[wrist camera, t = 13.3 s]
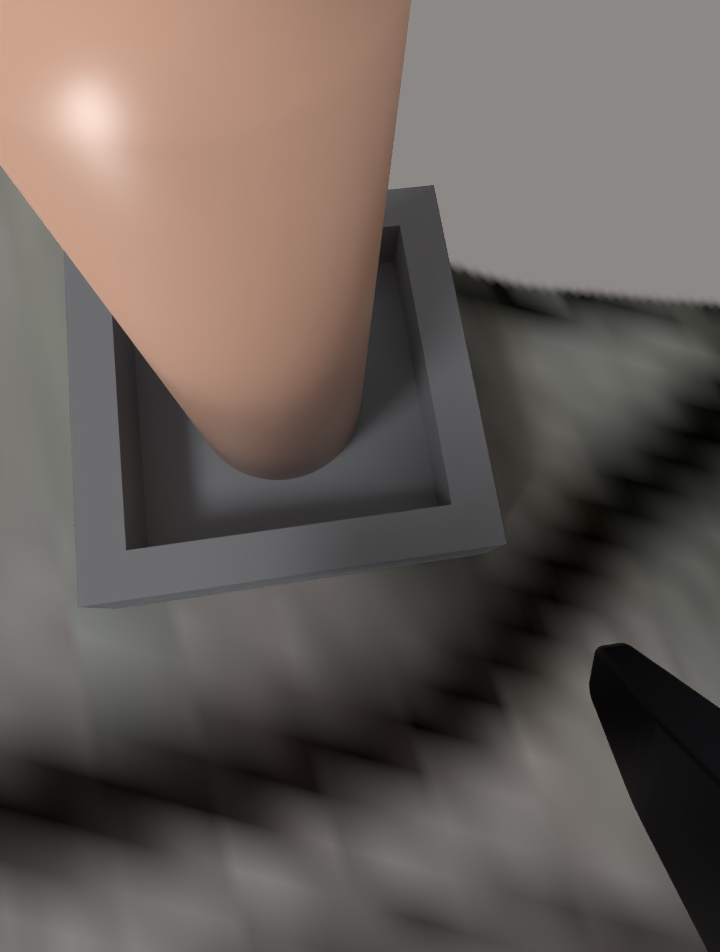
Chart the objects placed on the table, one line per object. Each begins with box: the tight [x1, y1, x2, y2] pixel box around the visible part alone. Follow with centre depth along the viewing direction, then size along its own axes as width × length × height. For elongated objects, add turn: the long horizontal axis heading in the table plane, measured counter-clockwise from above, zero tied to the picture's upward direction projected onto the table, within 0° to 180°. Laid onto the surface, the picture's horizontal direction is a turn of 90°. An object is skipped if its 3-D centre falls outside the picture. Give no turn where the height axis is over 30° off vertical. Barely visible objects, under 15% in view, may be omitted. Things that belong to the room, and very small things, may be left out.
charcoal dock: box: [64, 185, 507, 609], centre depth 17 cm, size 11×11×3 cm
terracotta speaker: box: [0, 0, 411, 480], centre depth 11 cm, size 5×5×12 cm
